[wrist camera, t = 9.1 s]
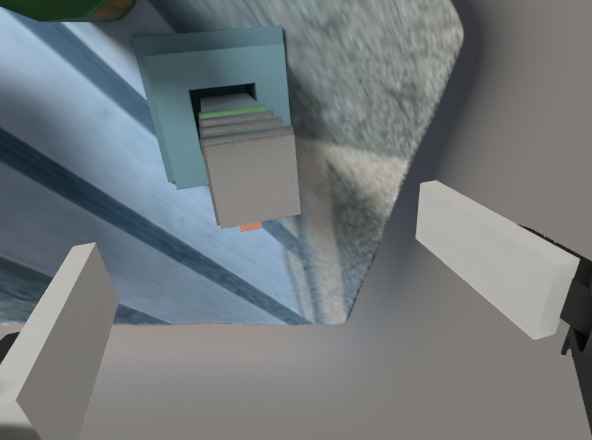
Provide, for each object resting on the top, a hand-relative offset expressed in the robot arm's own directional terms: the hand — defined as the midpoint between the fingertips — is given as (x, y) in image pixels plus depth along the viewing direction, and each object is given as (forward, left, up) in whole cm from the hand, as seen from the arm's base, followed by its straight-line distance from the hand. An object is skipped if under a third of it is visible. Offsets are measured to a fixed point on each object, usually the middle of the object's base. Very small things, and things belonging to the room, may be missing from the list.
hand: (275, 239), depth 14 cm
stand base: (0, 0, -38) cm, 38 cm away
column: (0, 0, -29) cm, 29 cm away
